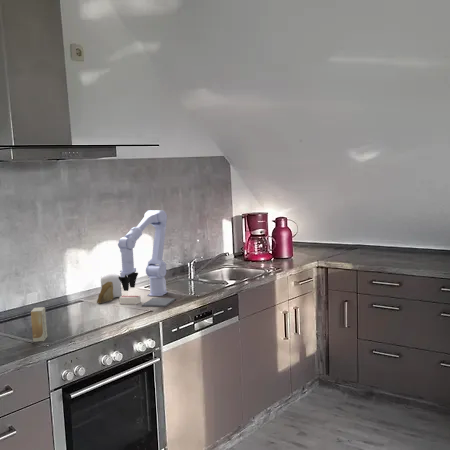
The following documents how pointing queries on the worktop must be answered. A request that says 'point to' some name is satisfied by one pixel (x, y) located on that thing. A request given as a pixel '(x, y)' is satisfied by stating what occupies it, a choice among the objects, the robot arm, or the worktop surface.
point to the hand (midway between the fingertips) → (129, 289)
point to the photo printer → (116, 283)
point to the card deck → (130, 299)
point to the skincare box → (39, 324)
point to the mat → (158, 302)
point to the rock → (106, 293)
